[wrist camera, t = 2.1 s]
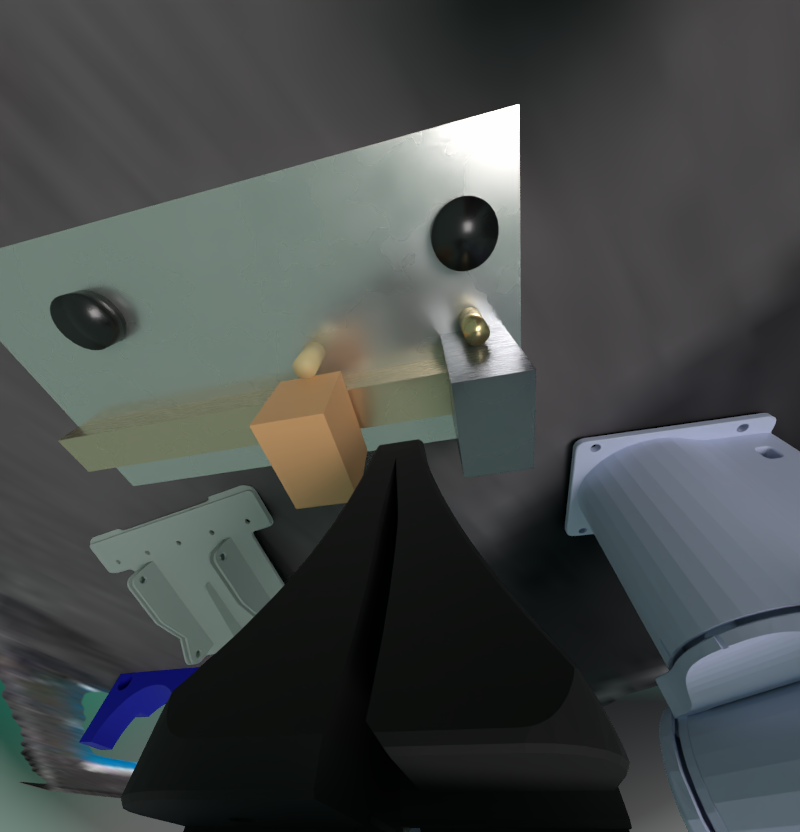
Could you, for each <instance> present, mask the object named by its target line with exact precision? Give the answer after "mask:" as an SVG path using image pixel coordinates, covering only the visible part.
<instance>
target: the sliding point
mask: <svg viewBox="0 0 800 832" xmlns="http://www.w3.org/2000/svg"><path fill="white" fill-rule="evenodd" d="M325 354H326V352H325V349H324V347H323V346H322V345H321V344H320V343H318V342H309V343H307V344H306V345H305V347H304V348H303V350H302V351H301V352H300V354H299V355H298V356H297V358H296V359H295V361H294V362H293V371H294V372H295V374H296V375H297V376H298V377H300V378H299V379H294V380H288V381H283V382H280V383H279V385H278V386H277V387H276V389H275V390H274V392H273V393H272V394H271V396H270V397H269V399H268V400H267V401H266V403H265V404H264V406H263V407H262V408H261V410H260V411H259V413H258V414H257V415H256V417H255V418H254V420H253V421H252V422H251V424H250V425H249V426H250V428H251V430H252V432H253V433H254V435H255V437H256V439H257V441H258V442H259V444H260V446H261V448H262V449H263V451H264V453H265V455H266V456H267V458H268V460H269V462H270V464H271V465H272V467H273V469H274V471H275V472H276V474H277V476H278V478H279V479H280V481H281V483H282V485H283V486H284V488H285V490H286V492H287V494H288V495H289V497H290V499H291V501H292V502H293V504H294V506H295V508H296V509H301V508H309V507H317V506H325V505H333V504H341V503H347V502H348V500H349V499H350V497H351V495H352V494H353V492H354V490H355V488H356V487H357V485H358V483H359V482H360V480H361V478H362V476H363V473H364V467H365V461H366V456H367V447H366V444H365V441H364V438H363V435H362V432H361V430H360V427H359V424H358V421H357V418H356V415H355V412H354V409H353V406H352V403H351V400H350V397H349V394H348V391H347V388H346V385H345V382H344V379H343V376H342V374H341V371H337V372H332V373H326V374H321V375H316V376H315V374H316V372H317V370H318V369H319V367H320V365H321V363H322V361H323V359H324V358H325Z"/></svg>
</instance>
